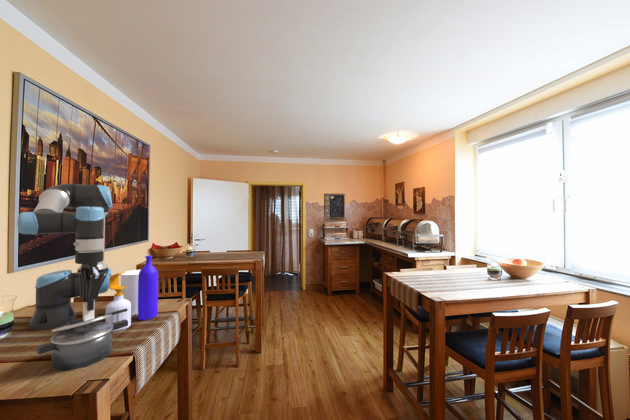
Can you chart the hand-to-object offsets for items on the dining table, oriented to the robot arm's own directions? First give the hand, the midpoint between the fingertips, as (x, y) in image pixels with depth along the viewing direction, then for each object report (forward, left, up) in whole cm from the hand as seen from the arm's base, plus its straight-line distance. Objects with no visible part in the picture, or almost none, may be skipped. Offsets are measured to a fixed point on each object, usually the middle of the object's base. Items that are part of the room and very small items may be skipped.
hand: (88, 319), depth 91 cm
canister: (-37, +33, -15) cm, 52 cm away
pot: (-4, +1, -14) cm, 15 cm away
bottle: (-22, +31, -15) cm, 41 cm away
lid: (-5, +3, -3) cm, 6 cm away
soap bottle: (-21, +18, -15) cm, 31 cm away
